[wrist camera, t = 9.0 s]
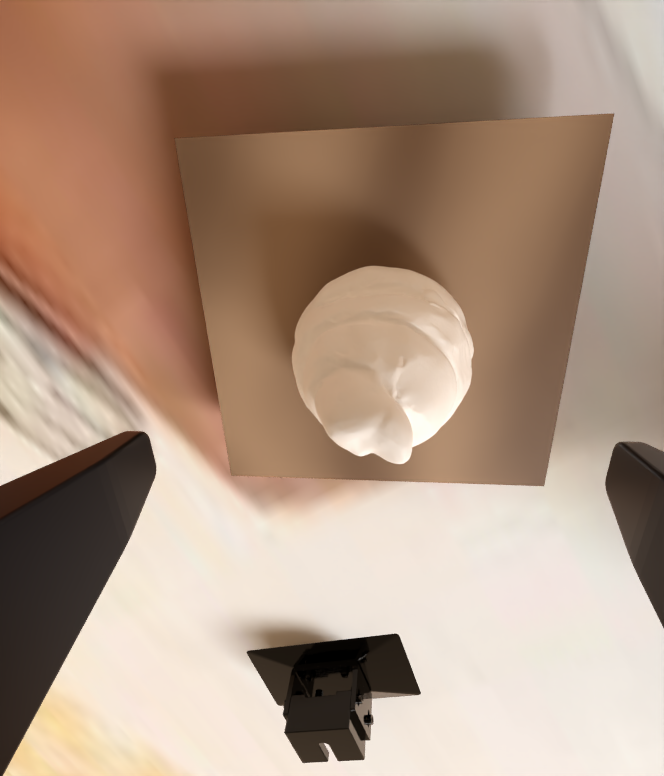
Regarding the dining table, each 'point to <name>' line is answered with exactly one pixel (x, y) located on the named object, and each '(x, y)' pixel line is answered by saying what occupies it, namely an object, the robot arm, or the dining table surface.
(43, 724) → the dining table surface
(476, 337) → the walnut stand
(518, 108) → the dining table surface
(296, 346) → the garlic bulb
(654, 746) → the dining table surface
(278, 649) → the build plate
